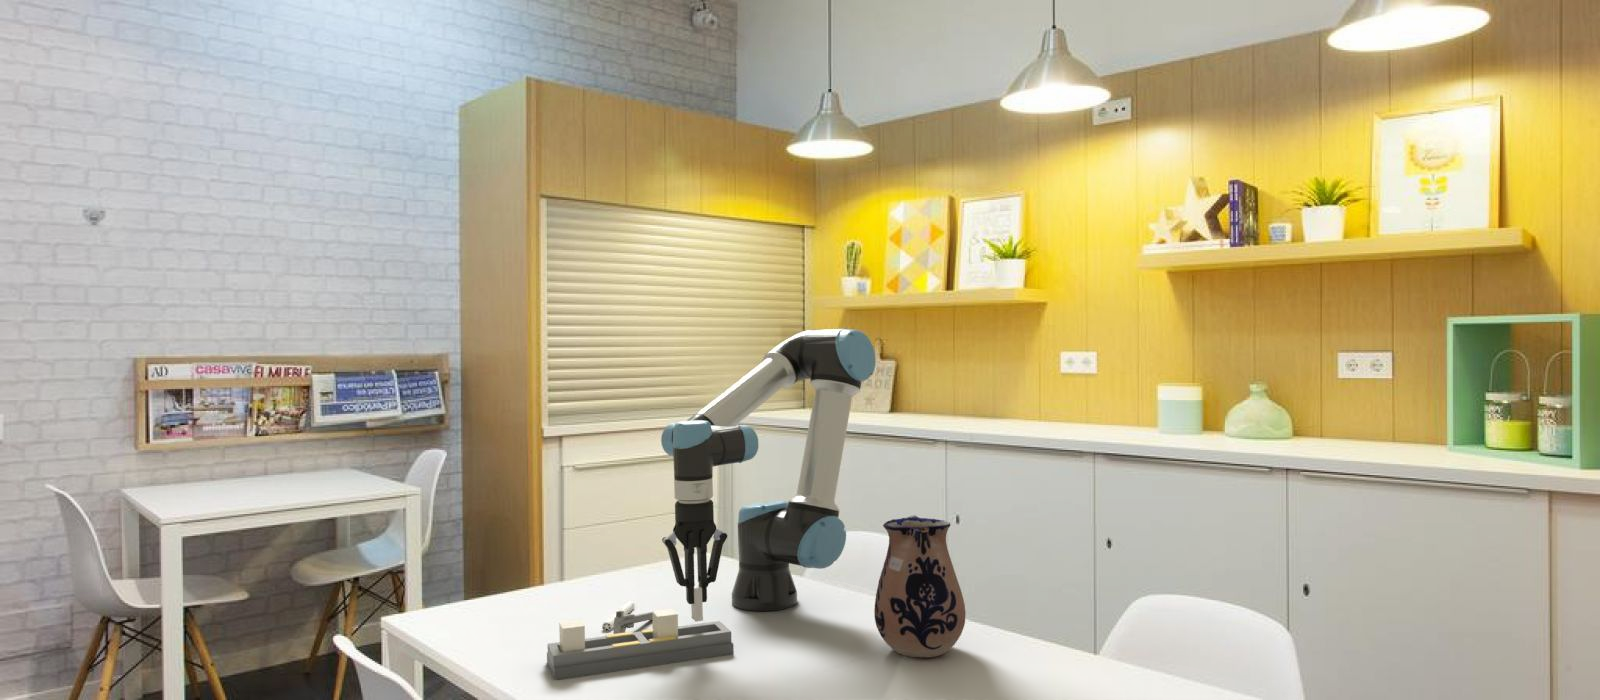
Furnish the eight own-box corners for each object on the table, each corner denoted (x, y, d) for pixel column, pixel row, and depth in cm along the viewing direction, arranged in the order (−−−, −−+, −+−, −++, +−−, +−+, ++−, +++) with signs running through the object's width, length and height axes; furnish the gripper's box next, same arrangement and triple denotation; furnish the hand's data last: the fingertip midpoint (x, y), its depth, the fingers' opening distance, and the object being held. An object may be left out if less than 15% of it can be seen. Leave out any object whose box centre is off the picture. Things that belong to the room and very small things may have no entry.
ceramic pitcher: (887, 669, 176) (885, 534, 175) (862, 634, 196) (860, 513, 196) (978, 663, 178) (977, 529, 178) (944, 629, 199) (942, 509, 199)
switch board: (717, 638, 195) (717, 618, 195) (733, 653, 185) (733, 632, 185) (546, 662, 182) (546, 640, 181) (554, 680, 172) (554, 656, 172)
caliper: (618, 644, 193) (617, 613, 193) (613, 644, 193) (613, 613, 193) (662, 615, 212) (662, 587, 212) (658, 615, 213) (657, 587, 212)
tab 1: (581, 651, 181) (580, 620, 181) (585, 658, 177) (584, 625, 177) (559, 654, 179) (559, 622, 179) (563, 661, 176) (562, 628, 176)
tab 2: (672, 639, 188) (672, 608, 188) (678, 645, 184) (677, 614, 184) (652, 641, 186) (652, 611, 186) (657, 647, 183) (657, 616, 183)
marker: (628, 607, 219) (628, 597, 219) (637, 607, 219) (637, 597, 219) (601, 631, 201) (601, 620, 201) (611, 632, 201) (611, 621, 201)
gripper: (666, 506, 181) (669, 629, 182) (731, 499, 186) (734, 619, 187) (656, 499, 188) (660, 618, 189) (719, 493, 193) (723, 609, 194)
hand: (697, 619), depth 188 cm, fingers closed
